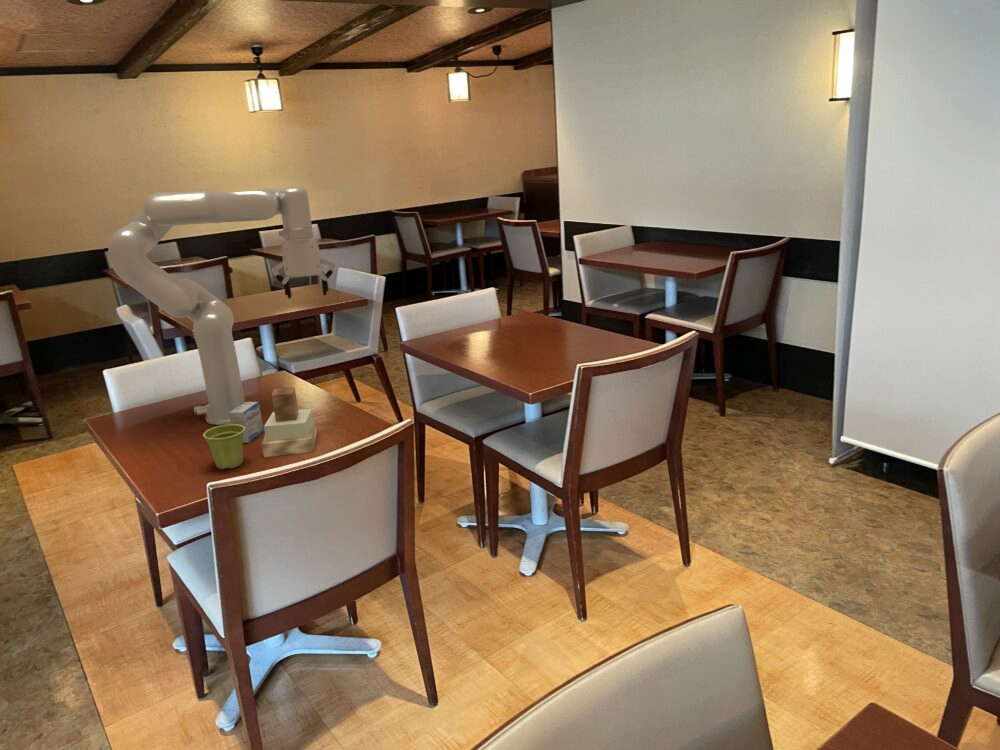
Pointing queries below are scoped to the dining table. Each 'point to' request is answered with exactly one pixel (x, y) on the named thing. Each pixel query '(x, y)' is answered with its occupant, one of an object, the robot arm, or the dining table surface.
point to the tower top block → (289, 427)
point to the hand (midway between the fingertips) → (307, 295)
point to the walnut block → (285, 404)
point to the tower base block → (290, 445)
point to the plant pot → (226, 445)
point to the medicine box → (248, 420)
